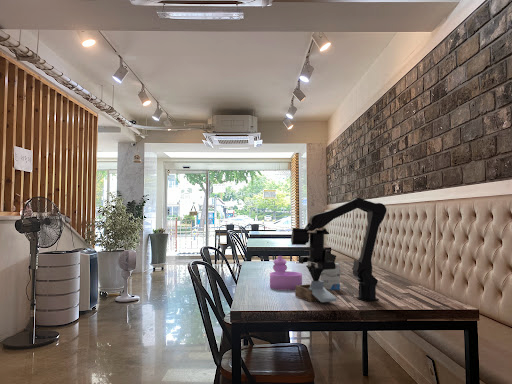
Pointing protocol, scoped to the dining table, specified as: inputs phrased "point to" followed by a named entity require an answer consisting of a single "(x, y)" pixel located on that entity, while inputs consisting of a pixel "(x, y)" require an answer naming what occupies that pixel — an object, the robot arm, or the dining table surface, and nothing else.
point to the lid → (321, 292)
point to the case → (305, 292)
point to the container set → (284, 276)
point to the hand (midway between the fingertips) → (316, 283)
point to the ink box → (331, 278)
